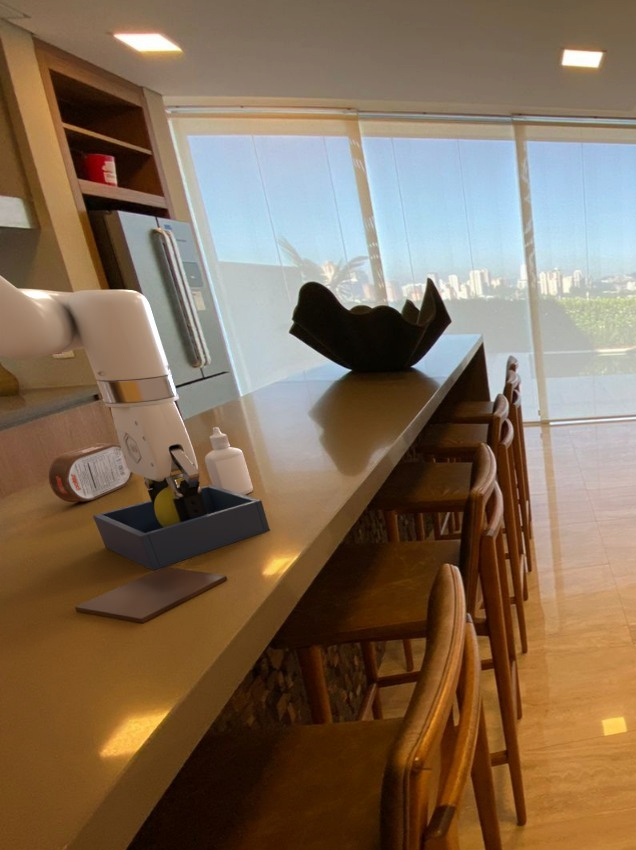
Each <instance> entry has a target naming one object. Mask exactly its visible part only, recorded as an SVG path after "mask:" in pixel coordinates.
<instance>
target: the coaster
mask: <svg viewBox="0 0 636 850" xmlns="http://www.w3.org/2000/svg"><path fill="white" fill-rule="evenodd" d="M227 580H228V577H227V575H224V574H217V573H212V572H211V573H210V572H204V571H196V570H190V569H183V568H176V567H170V566H165V567H162V568H159V569H156V570H153V571H152V572H150V573H148V574H146V575H143V576H141V577H138V578H137V579H133V580H132V581H130V582H127V583H125V584H122V585H121V586H118V587H116V588H114V589H112V590H110V591H107V592H105V593H102V594H100V595H98V596H96V597H94V598H91V599H89V600H87V601H84V602H82V603H79V604H78V605H76V606H74V609H75V611H76V612H80V613H84V614H90V615H96V616H100V617H106V618H111V619H112V618H113V619H118V620H123V621H129V622H135V623H139V624H144V623H146V622H148V621H150V620H152V619H153V618H156V617H158V616H160V615H161V614H164V613H165V612H166V613H167V611H170V610H171V609H174V608H175V607H177V606H179V605H182V604H184V603H185V602H187V601H189V600H191V599H192V598H195V597H197V596H198V595H201V594H203V593H205V592H206V591H208V590H210V589H212V588H214V587H216V586H218V585H220V584H222V583H224V582H226V581H227Z"/></svg>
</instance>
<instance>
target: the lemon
mask: <svg viewBox="0 0 636 850" xmlns="http://www.w3.org/2000/svg"><path fill="white" fill-rule="evenodd" d="M174 498H176V497H175V495H174V493H173V492H172V490H171V488H170V486H168V487H167V488H165V489H163V490H162V491H161V492H160V493H159V494H158V495H157V496H156V499H155V503H154V509H155V515H156V517H157V519H158V521H159V523H160V524H161V525H162V527H163V528H164V527H167V526H171V525H174V524H177V523H181V522H180V519H179V516H178V513H177V511H176V508H175V505H174V502H173V499H174Z"/></svg>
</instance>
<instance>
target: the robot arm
mask: <svg viewBox="0 0 636 850" xmlns="http://www.w3.org/2000/svg"><path fill="white" fill-rule="evenodd" d="M152 311H153V310H152V308H151V305H150V303H149V301H148V299H147V297H146V296H144V294H142V293H141V292H139V291H136V290H131V289H83V290H82V289H81V290H77V291H73V292H71V291H70V292H69V291H58V290H57V291H56V290H47V289H37V288H17V287H16V286H15V285H13V284H12V283H11V282H10V281H8V280H7V279H5V278H4V277H3V276H2V275H0V357H1V358H6V359H11V360H17V361H18V360H19V361H20V360H21V361H24V360H25V361H26V360H35V359H39V358H43V357H47V356H52V355H57V354H60V353H65V352H70V351H76V350H83V349H84V351H85V354H86V356H87V359H88V362H89V364H90V368H91V370H92V374H93V375H94V378H95V380H96V383H97V386H98V389H99V392H100V394H101V397H102V400H103V403H104V406H105V407H106V408H110V412H111V417H112V420H113V425H114V429H115V433H116V436H117V439H118V443H119V445H120V446H121V449H122V452H123V456H124V459H125V462H126V465H127V468H128V469H129V471H130V472H132V473H133V474H134V475H136V476H140V477H143V481H144V486H145V487H146V489H147V493H148V495H149V498H150V500H151V501H152V504H153V507H154V503H155V499H156V496H157V495H158V494H159V493H160V492H161V491H162V490H163V489H165V488H167V487H168V486H170V488H171V490H172V492H173V493H174V495H175V497H176V498H174V499H173V502H174V505H175V508H176V511H177V513H178V516H179V519H180V522H184V521H188V520H191V519H194V518H198V517H201V516H204V515H208V512H207V509H206V506H205V503H204V500H203V497H202V494H201V493H202V491H201V488H200V487H201V486H200V481H199V480H200V472H199V470H198V469H199V465H198V461H197V457H196V454H195V450H194V448H193V444H192V442H191V439H190V436H189V433H188V430H187V428H186V425H185V423H184V421H183V419H182V416H181V414H180V411H179V409H178V407H177V404H176V401H178V400H180V396H179V393H178V391H177V387H176V384H175V380H174V378H173V375H172V371H171V368H170V365H169V362H168V358H167V356H166V351H165V349H164V347H163V343H162V340H161V337H160V333H159V330H158V328H157V327H158V326H157V324H156V321H155V317H154V313H153V312H152ZM178 471H180V473H175V472H178ZM173 472H174V473H175V474H171V473H173ZM179 480H180V482H179V484H178V483H177V481H179ZM154 510H155V509H154Z"/></svg>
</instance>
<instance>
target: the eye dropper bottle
mask: <svg viewBox="0 0 636 850" xmlns="http://www.w3.org/2000/svg"><path fill="white" fill-rule="evenodd" d="M208 438H209V442H210V444H211V448H212V450H210V451H209V452H208V453H207V454H206V455H205V456H204V463H205V467H206V470H207V473H208V476H209V479H210V482H211V485H213V486H216V487H219V488H223V489H226V490H229V491H232V492H236V493H239V494H242V495H246V496H247V495H248V494H250V493H252V492H253V491H254V486H253V483H252V480H251V479H252V478H251V476H250V473H249V470H248V469H249V468H248V466H247V463H246V459H245V456H244V453H243V451H242V450H241V449H240V448H237V447H232V446H231V445H230V441H229V438H228V435H227V434H226V433H223V432H221V430H220V428H219V427H218V426H215V427H212V435H210V436H209V437H208Z"/></svg>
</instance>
